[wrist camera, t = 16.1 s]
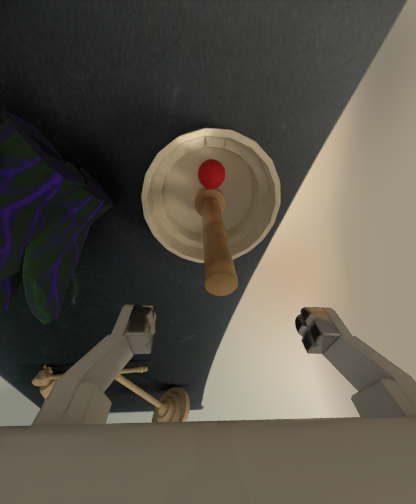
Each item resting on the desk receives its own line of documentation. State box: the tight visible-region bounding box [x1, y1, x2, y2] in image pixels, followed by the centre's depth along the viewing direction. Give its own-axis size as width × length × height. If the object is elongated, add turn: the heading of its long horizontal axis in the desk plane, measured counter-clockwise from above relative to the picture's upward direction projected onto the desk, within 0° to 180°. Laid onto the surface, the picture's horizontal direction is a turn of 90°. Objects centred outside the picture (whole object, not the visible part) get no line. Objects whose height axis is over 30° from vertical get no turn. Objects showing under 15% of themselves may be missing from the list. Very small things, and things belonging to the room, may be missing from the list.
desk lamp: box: [32, 365, 190, 423], centre depth 55 cm, size 15×35×40 cm
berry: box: [198, 159, 225, 189], centre depth 21 cm, size 3×3×3 cm
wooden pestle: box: [195, 187, 238, 296], centre depth 18 cm, size 4×4×16 cm
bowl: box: [141, 127, 280, 263], centre depth 22 cm, size 15×15×6 cm
